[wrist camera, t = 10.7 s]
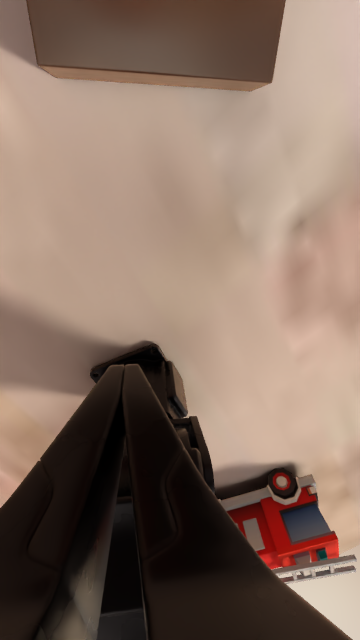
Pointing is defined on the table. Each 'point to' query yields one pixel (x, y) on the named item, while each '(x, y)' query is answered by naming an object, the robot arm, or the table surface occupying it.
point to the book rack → (159, 41)
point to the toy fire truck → (288, 528)
